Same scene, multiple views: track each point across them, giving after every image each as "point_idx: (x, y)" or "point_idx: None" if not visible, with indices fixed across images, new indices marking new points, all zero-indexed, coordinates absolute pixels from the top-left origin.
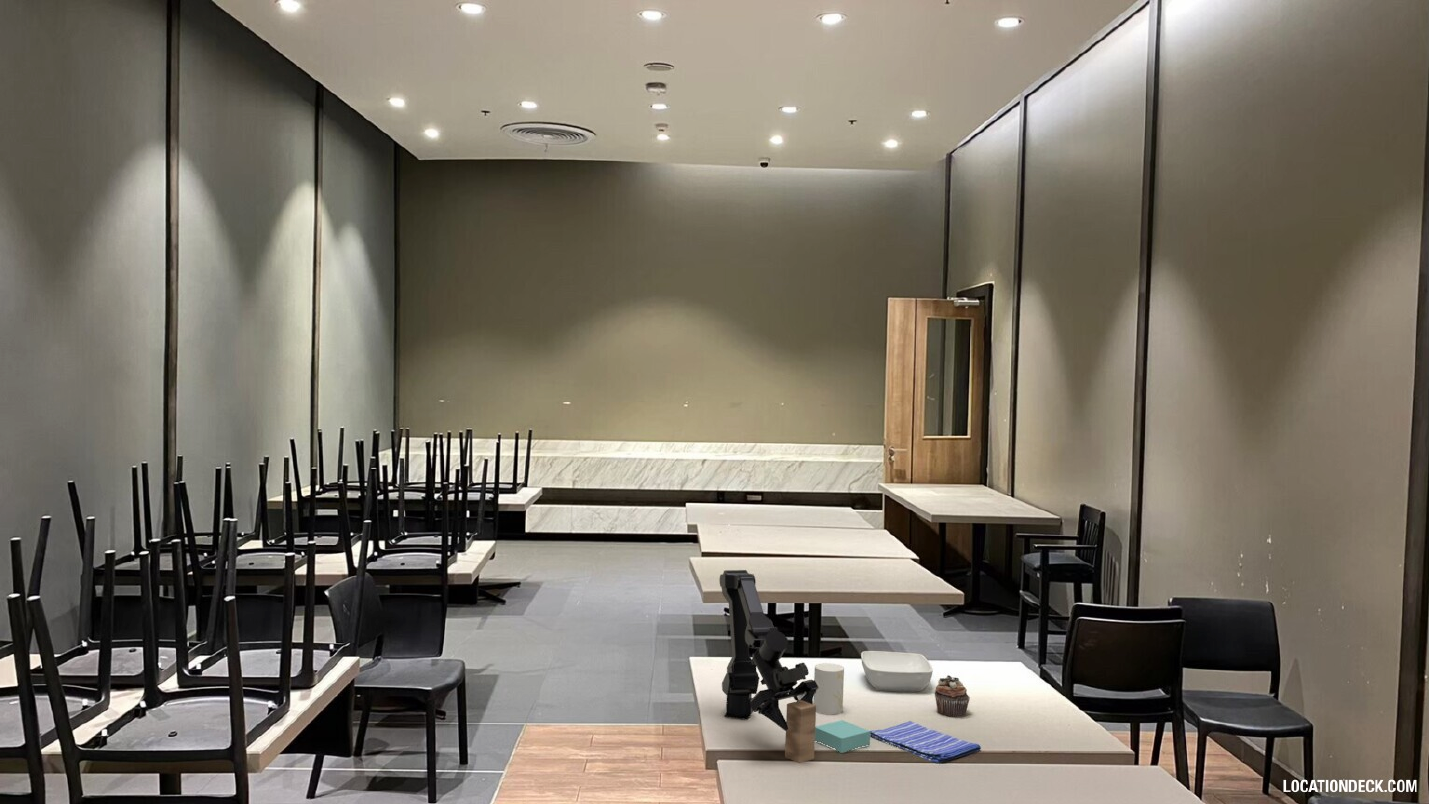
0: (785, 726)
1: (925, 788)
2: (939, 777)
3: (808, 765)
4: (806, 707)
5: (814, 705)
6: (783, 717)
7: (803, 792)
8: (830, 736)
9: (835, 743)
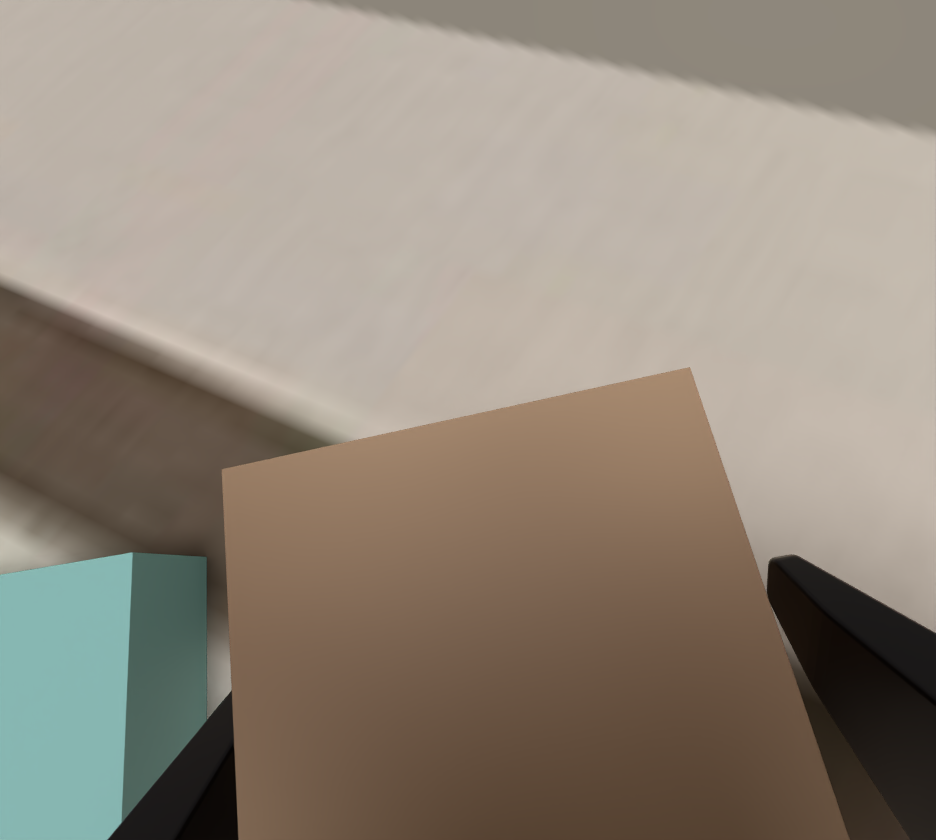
0: (826, 575)
1: (197, 22)
2: (48, 98)
3: None
4: (501, 435)
5: (246, 494)
6: (911, 671)
7: (797, 117)
8: (144, 698)
9: (174, 623)
